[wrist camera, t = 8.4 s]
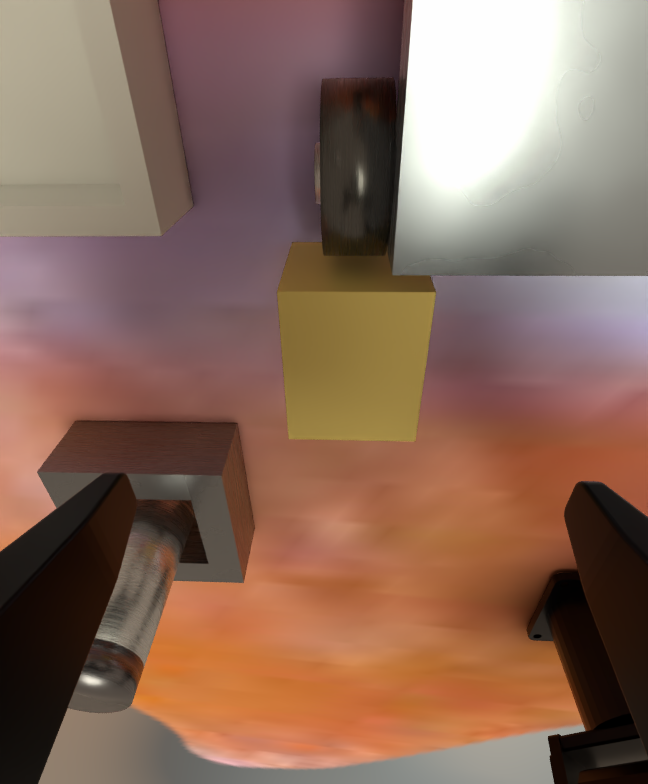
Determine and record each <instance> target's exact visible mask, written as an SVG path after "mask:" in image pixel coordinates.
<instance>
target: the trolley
mask: <svg viewBox="0 0 648 784" xmlns="http://www.w3.org/2000/svg"><path fill="white" fill-rule="evenodd" d="M314 177H315V199H316V204H320V205H321V233H322V248H323V255H324V256H385V254H386V251H387V247H388V251H387V252H388V257H389V262H390V267H391V272H392V275H510V276H648V0H404V14H403V28H402V43H401V58H400V73H399V88H398V103H397V118H396V89H395V81H394V78H393V77H388V78H330V79H322V86H321V104H320V143H315V156H314Z"/></svg>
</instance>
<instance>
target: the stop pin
mask: <svg viewBox="0 0 648 784" xmlns="http://www.w3.org/2000/svg"><path fill="white" fill-rule="evenodd" d="M194 517H195V513H194V509H193V506H192V502H191V500H156V499H137V510H136V514H135V517H134V521H133V525H132V528H131V532H130V536H129V540H128V543H127V547H126V551H125V554H124V558H123V562H122V565H121V569H120V572H119V576H118V579H117V582H116V585H115V588H114V590H113V593H112V596H111V598H110V601H109V603H108V606H107V608H106V611H105V614H104V616H103V619H102V621H101V624H100V626H99V629H98V631H97V634H96V637H95V639H94V642H93V644H92V647H91V649H90V652H89V654H88V657H87V660H86V662H85V665H84V667H83V670H82V672H81V675H80V678H79V680H78V683H77V685H76V688H75V690H74V693H73V695H72V698H71V701H70V703H69V706H68V708H70V709H74V710H79V711H85V712H94V713H112V712H118V711H122V710H125V709H127V708H128V707H129V706H130V705H131V704H132V701H133V698H134V696H135V693H136V690H137V687H138V684H139V681H140V678H141V675H142V672H143V669H144V666H145V663H146V660H147V657H148V654H149V651H150V648H151V645H152V642H153V639H154V636H155V633H156V630H157V627H158V624H159V621H160V618H161V615H162V612H163V609H164V606H165V603H166V600H167V598H168V595H169V592H170V589H171V586H172V583H173V580H174V577H175V574H176V571H177V568H178V565H179V562H180V559H181V556H182V553H183V550H184V547H185V544H186V541H187V538H188V535H189V532H190V529H191V526H192V523H193V520H194Z"/></svg>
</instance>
